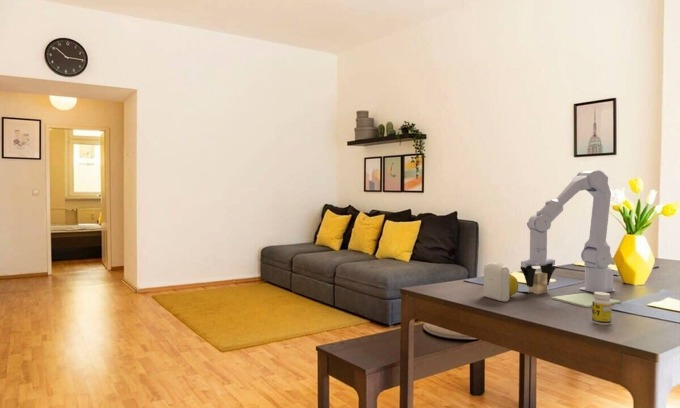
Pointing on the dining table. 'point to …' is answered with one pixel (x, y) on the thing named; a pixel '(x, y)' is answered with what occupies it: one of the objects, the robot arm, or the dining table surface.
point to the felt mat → (580, 299)
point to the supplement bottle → (601, 308)
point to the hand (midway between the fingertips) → (537, 285)
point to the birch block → (539, 283)
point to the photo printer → (496, 281)
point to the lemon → (512, 285)
